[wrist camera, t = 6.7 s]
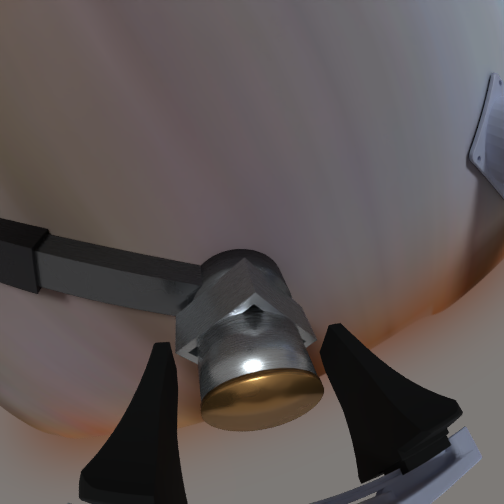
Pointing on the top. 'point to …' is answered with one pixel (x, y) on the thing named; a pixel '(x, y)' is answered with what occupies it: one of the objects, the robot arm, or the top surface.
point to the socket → (249, 352)
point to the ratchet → (114, 270)
